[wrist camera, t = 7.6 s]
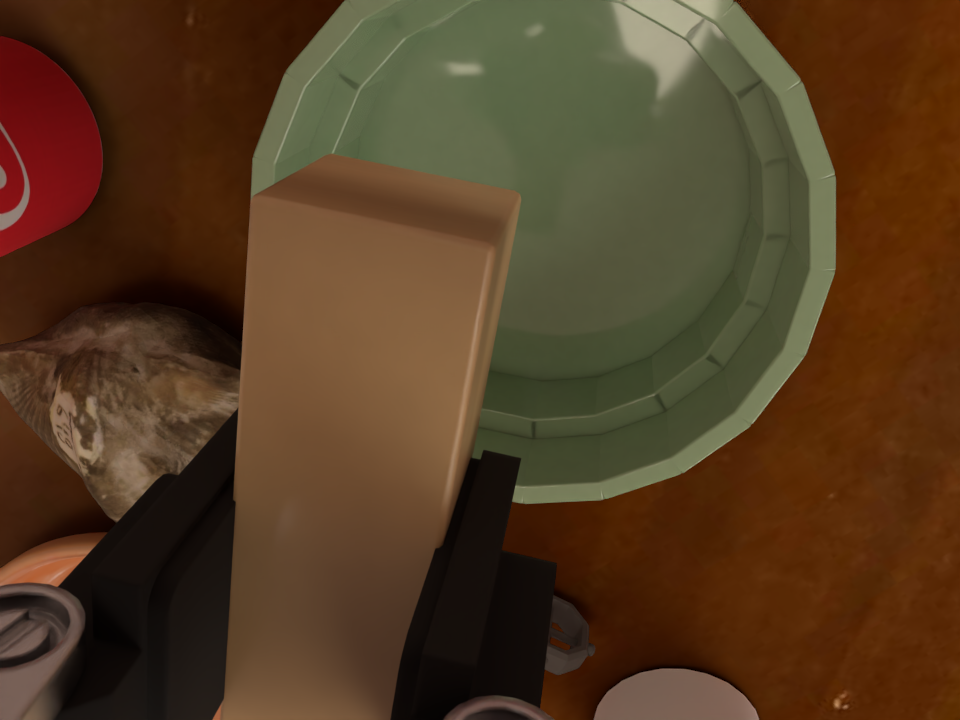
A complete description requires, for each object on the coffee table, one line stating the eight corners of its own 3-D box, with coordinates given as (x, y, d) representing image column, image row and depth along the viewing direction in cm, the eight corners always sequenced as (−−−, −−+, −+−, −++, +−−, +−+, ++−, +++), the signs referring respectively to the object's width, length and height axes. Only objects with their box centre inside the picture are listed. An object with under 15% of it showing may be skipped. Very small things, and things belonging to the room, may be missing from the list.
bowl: (344, -100, 24) (262, -119, 19) (861, -12, 23) (933, -4, 18) (308, 357, 30) (239, 442, 25) (716, 442, 29) (737, 552, 24)
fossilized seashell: (313, 332, 27) (44, 218, 29) (188, 512, 23) (-110, 370, 25) (329, 445, 33) (108, 346, 35) (232, 600, 30) (-9, 482, 31)
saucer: (423, 618, 34) (406, 674, 32) (284, 842, 41) (260, 903, 38) (50, 434, 33) (0, 475, 31) (-28, 694, 40) (-75, 747, 37)
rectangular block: (326, 150, 10) (246, 193, 8) (524, 190, 10) (496, 244, 8) (270, 750, 14) (207, 885, 12) (410, 785, 14) (372, 929, 12)
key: (601, 610, 33) (599, 674, 30) (589, 628, 33) (586, 694, 30) (310, 476, 32) (278, 529, 29) (302, 497, 33) (269, 550, 30)
